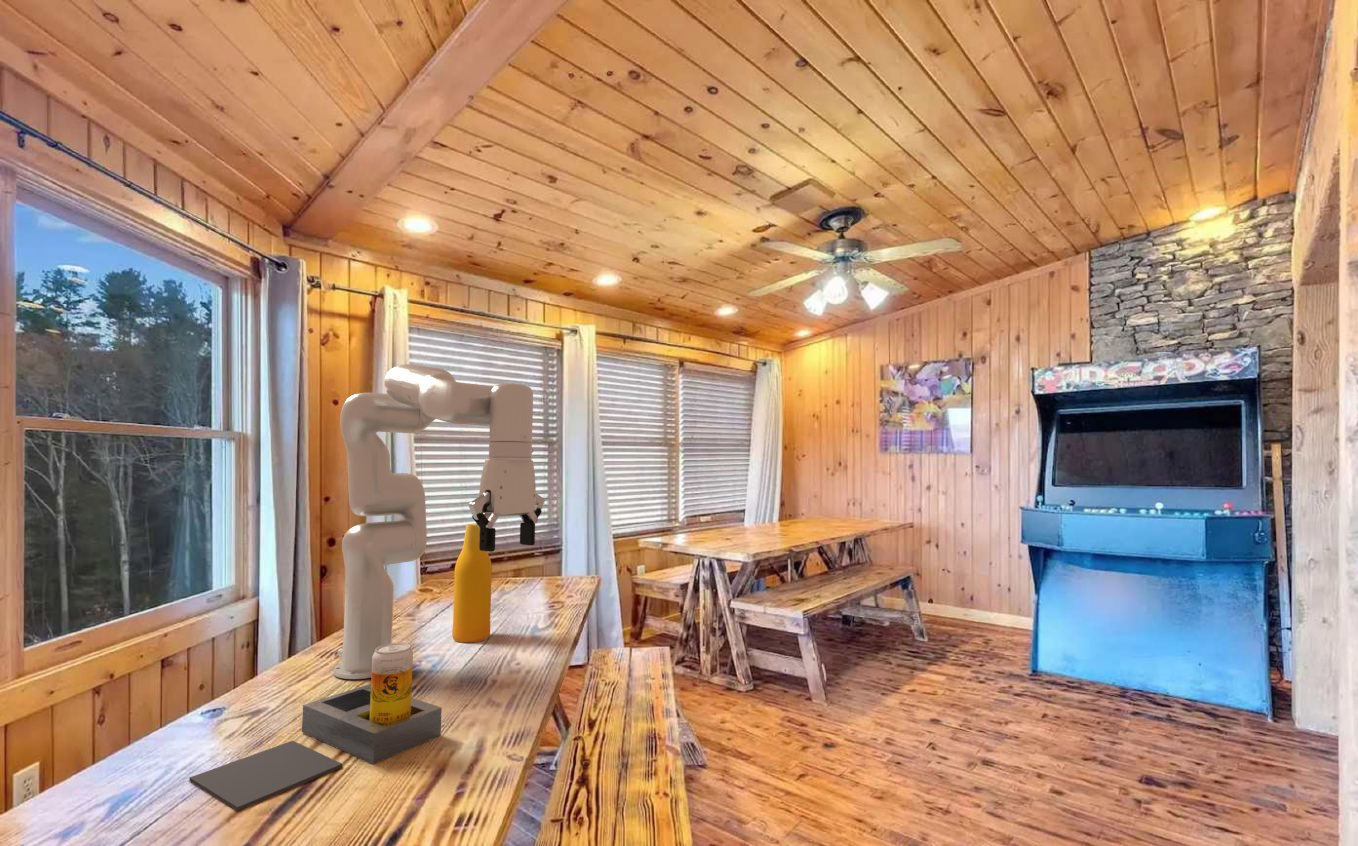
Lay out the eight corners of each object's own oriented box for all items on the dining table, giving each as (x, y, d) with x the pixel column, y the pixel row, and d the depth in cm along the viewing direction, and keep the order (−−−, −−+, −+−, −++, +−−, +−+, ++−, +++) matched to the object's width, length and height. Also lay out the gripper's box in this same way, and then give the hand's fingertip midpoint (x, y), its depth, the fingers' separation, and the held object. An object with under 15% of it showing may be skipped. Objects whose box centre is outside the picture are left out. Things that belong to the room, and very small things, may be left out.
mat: (189, 780, 89) (189, 777, 89) (292, 743, 101) (292, 740, 101) (237, 810, 82) (237, 806, 82) (342, 766, 94) (342, 763, 94)
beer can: (369, 752, 98) (373, 655, 99) (368, 737, 104) (372, 644, 105) (411, 745, 101) (414, 650, 102) (408, 730, 107) (411, 640, 107)
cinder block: (301, 732, 105) (303, 704, 105) (369, 708, 115) (370, 683, 116) (373, 764, 95) (374, 733, 95) (440, 734, 105) (441, 707, 105)
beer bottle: (483, 643, 157) (487, 526, 158) (446, 642, 157) (450, 525, 158) (494, 633, 166) (498, 522, 167) (459, 632, 166) (463, 522, 168)
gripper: (529, 453, 123) (526, 541, 122) (457, 451, 108) (454, 551, 107) (558, 453, 120) (556, 544, 119) (488, 451, 105) (485, 555, 104)
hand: (507, 547), depth 113 cm, fingers open, 9 cm apart
